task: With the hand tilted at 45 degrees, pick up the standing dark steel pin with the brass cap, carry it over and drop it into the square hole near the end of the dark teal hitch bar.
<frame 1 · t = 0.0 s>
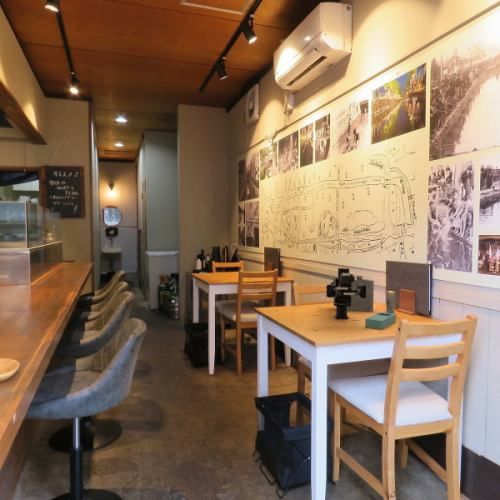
hand: (348, 293, 190), 17 cm above the table, tool horizontal, fingers open, 9 cm apart
dark grey upright panel: (358, 310, 234), on the table, touching arm
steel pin: (390, 317, 215), on the table
hitch bar: (380, 324, 200), on the table
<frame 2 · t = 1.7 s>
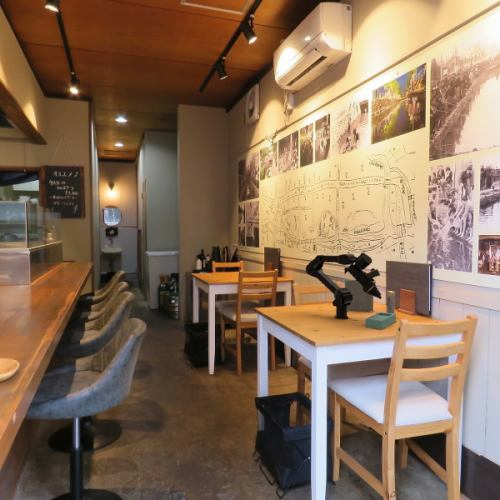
hand: (381, 296, 205), 13 cm above the table, tool tilted 45°, fingers open, 9 cm apart
dark grey upright panel: (358, 310, 234), on the table
everything else where it was.
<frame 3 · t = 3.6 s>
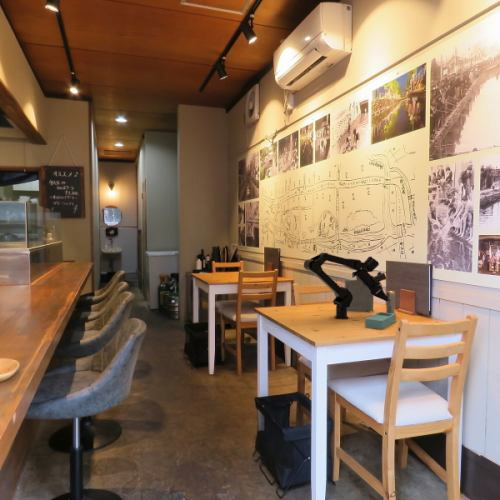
hand: (387, 299, 215), 10 cm above the table, tool tilted 45°, fingers open, 9 cm apart
nothing on the table moved.
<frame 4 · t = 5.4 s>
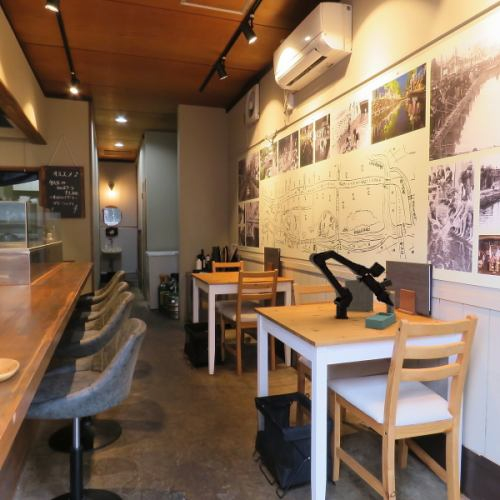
hand: (393, 305, 214), 7 cm above the table, tool tilted 45°, fingers closed on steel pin, 4 cm apart
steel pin: (390, 317, 215), on the table, touching gripper
everything else where it was.
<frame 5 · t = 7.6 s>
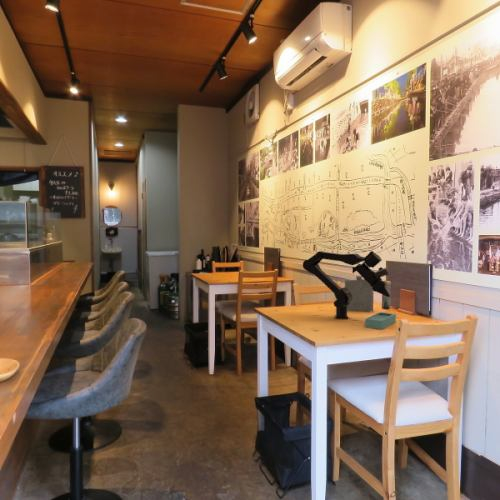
hand: (389, 295, 206), 13 cm above the table, tool tilted 45°, fingers closed on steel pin, 4 cm apart
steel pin: (385, 308, 206), point 6 cm above the table, touching gripper
everything else where it was.
when the fingers open (7 cm above the table, at t = 9.9 s): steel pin stays where it is, on the table.
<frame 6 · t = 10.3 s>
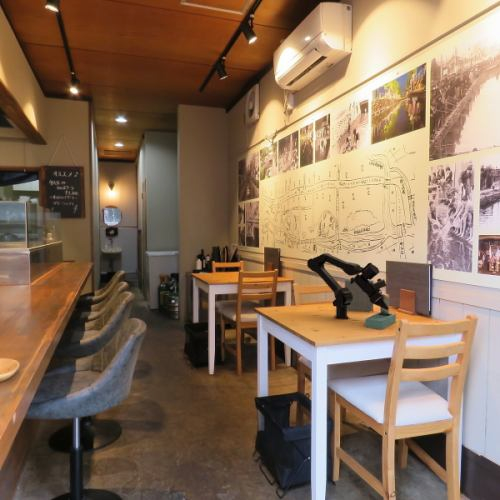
hand: (387, 307, 203), 8 cm above the table, tool tilted 45°, fingers open, 8 cm apart
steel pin: (384, 322, 204), on the table
everything else where it was.
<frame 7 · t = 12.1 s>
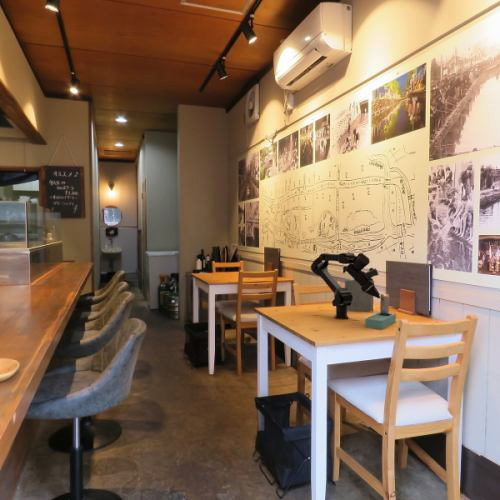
hand: (379, 296, 204), 13 cm above the table, tool tilted 45°, fingers open, 9 cm apart
nothing on the table moved.
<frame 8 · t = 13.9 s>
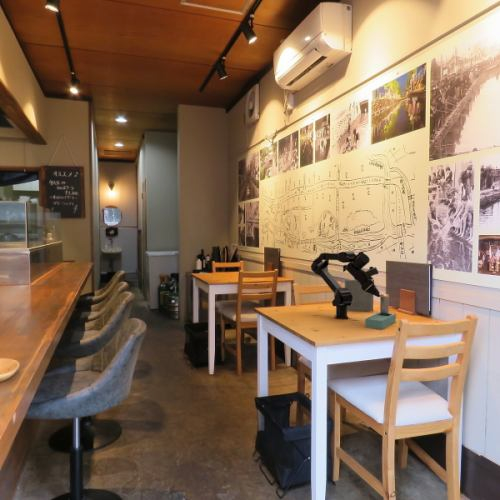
hand: (379, 295, 204), 14 cm above the table, tool tilted 45°, fingers open, 9 cm apart
nothing on the table moved.
at the end: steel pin 0.1 cm from the target spot on the hitch bar, point 0.0 cm above the hitch bar's base; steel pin tilted 0°; the gripper is holding nothing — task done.
